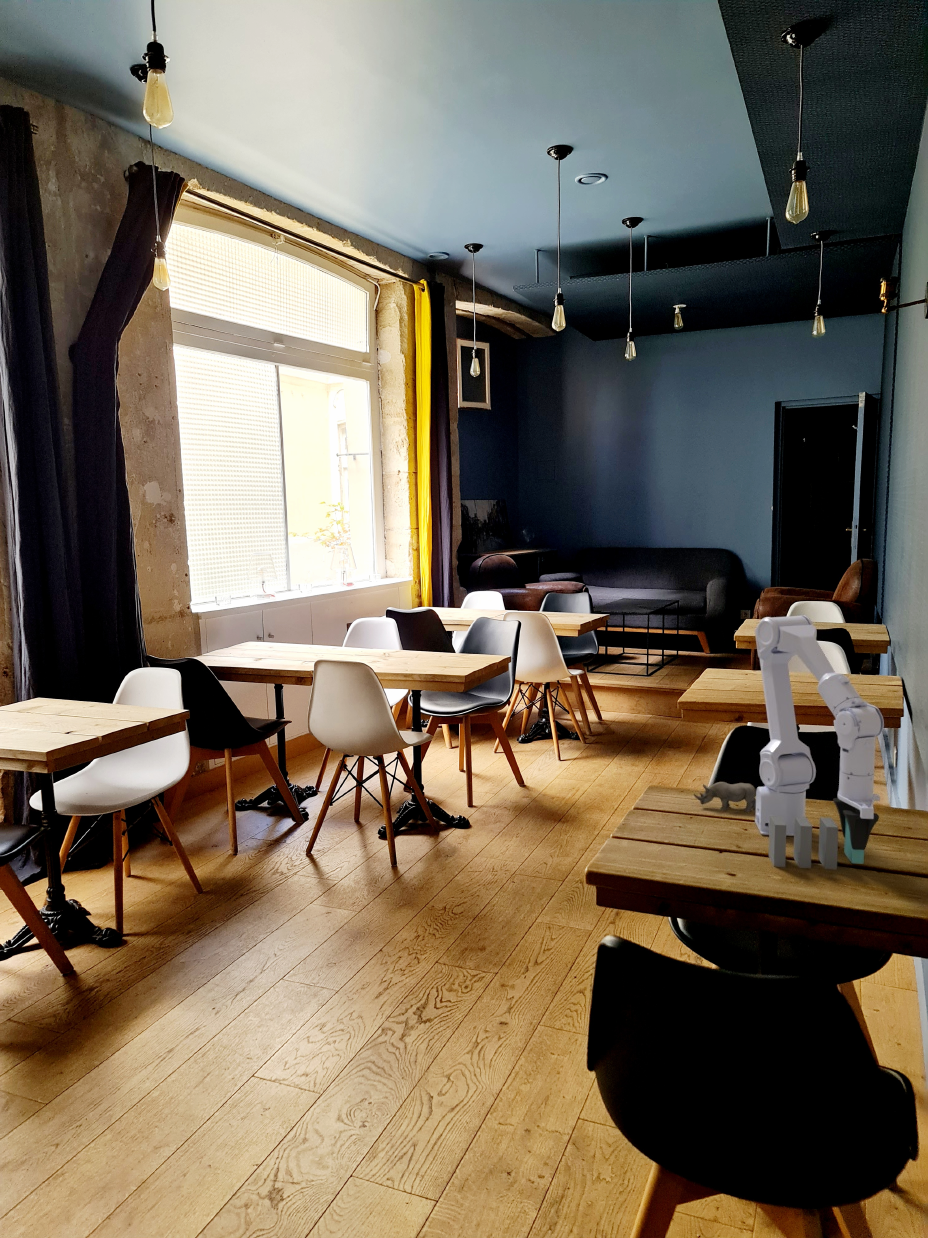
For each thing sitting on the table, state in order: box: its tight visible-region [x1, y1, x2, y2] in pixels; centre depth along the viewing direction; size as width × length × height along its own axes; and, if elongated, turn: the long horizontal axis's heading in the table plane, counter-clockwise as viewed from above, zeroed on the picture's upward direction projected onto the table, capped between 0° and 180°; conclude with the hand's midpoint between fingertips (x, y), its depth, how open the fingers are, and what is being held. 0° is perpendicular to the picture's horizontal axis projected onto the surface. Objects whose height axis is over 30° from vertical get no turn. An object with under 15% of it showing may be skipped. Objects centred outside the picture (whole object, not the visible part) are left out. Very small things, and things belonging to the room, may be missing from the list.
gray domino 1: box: [768, 816, 787, 868], centre depth 160 cm, size 2×5×8 cm, turn 171°
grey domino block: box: [817, 816, 839, 870], centre depth 158 cm, size 2×5×8 cm, turn 171°
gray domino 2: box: [793, 816, 813, 869], centre depth 159 cm, size 2×5×8 cm, turn 171°
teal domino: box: [843, 818, 865, 865], centre depth 157 cm, size 2×5×8 cm, turn 171°
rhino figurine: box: [693, 781, 757, 813], centre depth 189 cm, size 4×14×6 cm, turn 79°
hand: (854, 843), depth 157 cm, fingers closed on teal domino, 5 cm apart
